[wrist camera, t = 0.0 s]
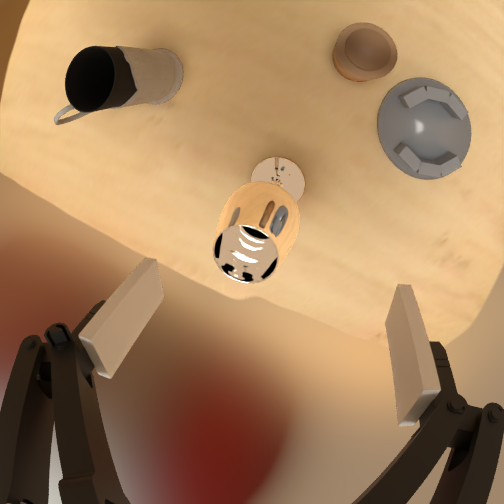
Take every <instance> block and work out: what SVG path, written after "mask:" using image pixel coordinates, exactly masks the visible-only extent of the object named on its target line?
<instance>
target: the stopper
mask: <svg viewBox="0 0 504 504" xmlns="http://www.w3.org/2000/svg"><path fill="white" fill-rule="evenodd" d="M396 61H397V49H396V46H395V43H394V41H393V39H392V38H391V37H390V35H389V34H388V33H387V32H386V31H384V30H383V29H382V28H380V27H378V26H376V25H373V24H370V23H355V24H352V25H350V26H348V27H346V28H345V29H344V30H343V31H342V32H341V34H340V35H339V38H338V40H337V43H336V46H335V49H334V51H333V62H334V65H335V67H336V69H337V70H338V72H339V73H340V74H341V75H342V76H344V77H345V78H347V79H349V80H352V81H357V82H363V81H367V80H372V79H376V78H380V77H383V76H385V75H387V74H388V73H389V72H390V71H391V70H392V69H393V68H394V66H395V64H396Z"/></svg>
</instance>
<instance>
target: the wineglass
mask: <svg viewBox="0 0 504 504" xmlns="http://www.w3.org/2000/svg"><path fill="white" fill-rule="evenodd" d="M304 189H305V180H304V176H303V173H302V171H301V170H300V168H299V167H298V166H297V165H296V164H295V163H293V162H292V161H290V160H288V159H286V158H282V157H271V158H267V159H265V160H263V161H261V162H260V163H259V164H258V165H257V166H256V167H255V169H254V170H253V173H252V176H251V183H248V184H245V185H244V186H242V187H240V188H239V189H238V190H236V191H235V192H234V193H233V194H232V195H231V196H230V198H229V199H228V200H227V202H226V204H225V206H224V208H223V210H222V212H221V215H220V218H219V221H218V225H217V229H216V234H215V239H214V244H213V256H214V260H215V262H216V264H217V266H218V267H219V268H220V270H221V271H222V272H223V273H224V274H225V275H227V276H228V277H230V278H231V279H233V280H235V281H238V282H242V283H258V282H261V281H264V280H266V279H268V278H269V277H270V276H271V275H272V274H273V273H274V272H275V271H276V270H277V268H278V267H279V266H280V264H281V263H282V262H283V260H284V259H285V257H286V256H287V254H288V253H289V251H290V249H291V248H292V246H293V244H294V242H295V240H296V237H297V234H298V231H299V225H300V216H299V209H298V207H297V204H296V202H298V200H299V199H300V198H301V196H302V195H303V192H304Z"/></svg>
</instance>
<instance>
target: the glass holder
mask: <svg viewBox="0 0 504 504" xmlns="http://www.w3.org/2000/svg"><path fill="white" fill-rule="evenodd" d="M182 80H183V67H182V64H181V61H180V60H179V58H178V57H177V56H176V55H175V54H174V53H173V52H171V51H169V50H166V49H153V50H147V49H140V48H131V47H121V46H116V47H103V46H91V47H87V48H85V49H83V50H82V51H80V52H79V53H78V54H77V55H76V56H75V57H74V58H73V60H72V61H71V63H70V65H69V67H68V70H67V73H66V78H65V90H66V95H67V98H68V100H69V102H70V105H69V106H67V107H65V108H63V109H62V110H61V111H60V112H58V113H57V114H56V116H55V117H54V122H55V124H56V125H60V124H64V123H67V122H71V121H73V120H76V119H78V118H80V117H83V116H85V115H87V114H89V113H91V112H94V111H98V110H103V109H108V108H120V107H126V106H131V105H137V104H143V103H148V104H154V105H156V104H161V103H164V102H166V101H168V100H170V99H171V98H172V97H173V96H174V95H175V94H176V93H177V91H178V90H179V88H180V86H181V83H182ZM74 108H75V109H76V110H78V111H80V113H78V114H76V115H73V116H70V117H67V118H64V119H60V120H59V118H60V117H61V116H62V115H64V114H65V113H67V112H68V111H70V110H72V109H74Z"/></svg>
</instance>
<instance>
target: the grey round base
mask: <svg viewBox="0 0 504 504" xmlns="http://www.w3.org/2000/svg"><path fill="white" fill-rule="evenodd" d="M377 127H378V135H379V139H380V142H381V145H382V147H383V149H384V151H385V153H386V155H387V156H388V158H389V159H390V160H391V161H392V162H393V163H394V165H396V166H397V167H398V168H399V169H400V170H401V171H403V172H404V173H406V174H408V175H410V176H412V177H415V178H419V179H425V180H432V179H438V178H441V177H444V176H446V175H448V174H450V173H451V172H453V171H455V170H457V169H459V168H460V167H462V166H461V163H462V162H463V160H464V158H465V157H466V154H467V152H468V149H469V146H470V141H471V125H470V119H469V116H468V111H467V110H466V108H465V106H464V105H463V103H462V101H461V100H460V98H459V97H458V96H457V95H456V94H455V93H454V92H453V91H452V90H451V89H450V88H449V87H447V86H446V85H444V84H442V83H440V82H438V81H435V80H432V79H427V78H414V79H409V80H406V81H403V82H401V83H399V84H398V85H396V86H395V87H393V88H392V89H391V90H390V91H389V92H388V94H387V95H386V96H385V98H384V100H383V101H382V104H381V106H380V109H379V113H378V123H377Z"/></svg>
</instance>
